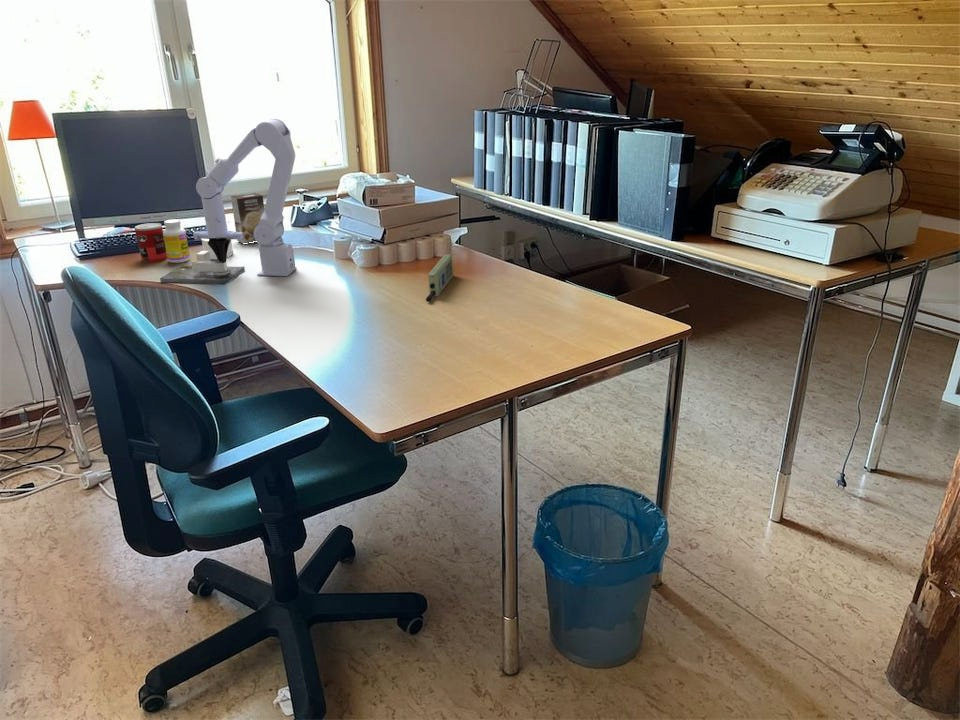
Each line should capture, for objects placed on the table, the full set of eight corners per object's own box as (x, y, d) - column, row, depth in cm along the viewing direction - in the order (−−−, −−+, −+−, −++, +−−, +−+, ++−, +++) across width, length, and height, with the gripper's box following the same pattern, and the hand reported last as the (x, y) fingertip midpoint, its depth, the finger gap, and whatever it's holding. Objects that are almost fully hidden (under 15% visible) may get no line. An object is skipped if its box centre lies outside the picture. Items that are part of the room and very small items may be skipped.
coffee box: (244, 245, 240) (236, 198, 233) (237, 241, 244) (229, 195, 238) (269, 240, 245) (262, 194, 238) (261, 237, 250) (255, 192, 243)
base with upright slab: (205, 253, 232) (198, 217, 227) (233, 250, 234) (227, 215, 229) (204, 260, 224) (197, 223, 219) (233, 257, 226) (227, 221, 221)
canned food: (141, 257, 227) (134, 224, 223) (167, 254, 230) (161, 221, 226) (141, 263, 221) (134, 229, 216) (169, 260, 224) (162, 226, 219)
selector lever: (233, 271, 207) (231, 259, 205) (226, 276, 202) (224, 264, 201) (198, 270, 208) (196, 259, 206) (190, 275, 203) (188, 263, 202)
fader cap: (211, 265, 213) (209, 251, 211) (206, 268, 210) (203, 254, 208) (204, 264, 213) (201, 250, 211) (198, 268, 210) (196, 254, 208)
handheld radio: (455, 276, 206) (434, 304, 183) (444, 276, 206) (422, 304, 184) (453, 254, 203) (432, 280, 181) (442, 254, 204) (420, 280, 181)
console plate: (244, 270, 213) (244, 266, 212) (225, 283, 201) (224, 279, 200) (183, 269, 215) (182, 265, 214) (160, 282, 203) (159, 278, 203)
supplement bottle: (185, 263, 221) (177, 223, 215) (165, 263, 221) (156, 223, 215) (194, 257, 227) (186, 218, 221) (173, 257, 227) (166, 218, 222)
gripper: (185, 220, 202) (193, 265, 207) (232, 221, 200) (240, 266, 206) (196, 215, 208) (204, 259, 214) (243, 215, 207) (249, 260, 212)
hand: (222, 262), depth 210 cm, fingers closed
